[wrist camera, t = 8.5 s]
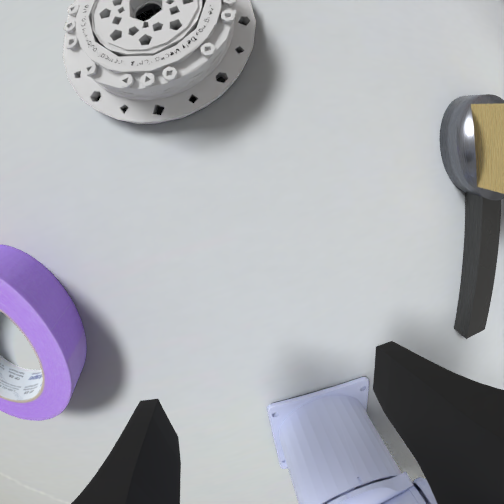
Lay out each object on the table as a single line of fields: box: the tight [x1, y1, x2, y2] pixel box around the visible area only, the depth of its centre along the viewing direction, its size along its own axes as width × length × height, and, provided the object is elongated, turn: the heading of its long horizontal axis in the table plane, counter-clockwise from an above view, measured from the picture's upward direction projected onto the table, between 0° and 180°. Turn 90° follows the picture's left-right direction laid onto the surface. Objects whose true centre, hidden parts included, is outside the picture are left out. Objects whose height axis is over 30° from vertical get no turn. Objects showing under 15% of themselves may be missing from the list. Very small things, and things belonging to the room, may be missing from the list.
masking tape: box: [0, 245, 87, 420], centre depth 15 cm, size 12×12×4 cm
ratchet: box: [440, 95, 504, 339], centre depth 17 cm, size 19×7×6 cm, turn 10°
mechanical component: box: [63, 0, 256, 124], centre depth 11 cm, size 10×4×10 cm
